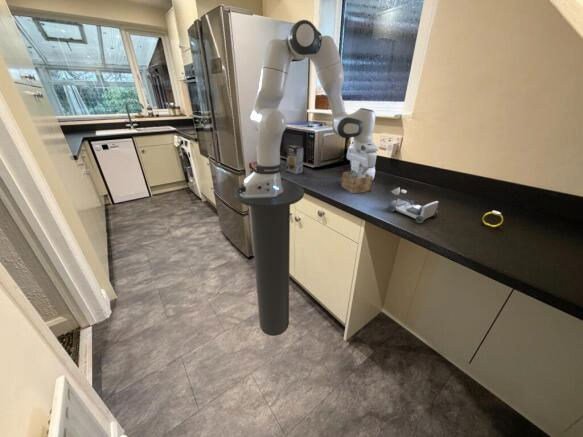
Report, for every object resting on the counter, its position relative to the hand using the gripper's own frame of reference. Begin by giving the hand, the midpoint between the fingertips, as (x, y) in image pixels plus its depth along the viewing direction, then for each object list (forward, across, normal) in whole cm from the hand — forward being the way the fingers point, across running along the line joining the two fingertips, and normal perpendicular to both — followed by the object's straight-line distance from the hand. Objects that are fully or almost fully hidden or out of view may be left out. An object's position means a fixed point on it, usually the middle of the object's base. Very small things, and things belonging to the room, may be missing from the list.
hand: (357, 172), depth 121 cm
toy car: (+9, +32, +6) cm, 34 cm away
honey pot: (+9, -15, +15) cm, 23 cm away
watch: (+9, +51, +28) cm, 59 cm away
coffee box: (+9, -39, -21) cm, 45 cm away
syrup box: (+8, 0, 0) cm, 9 cm away
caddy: (+9, 0, 0) cm, 9 cm away
